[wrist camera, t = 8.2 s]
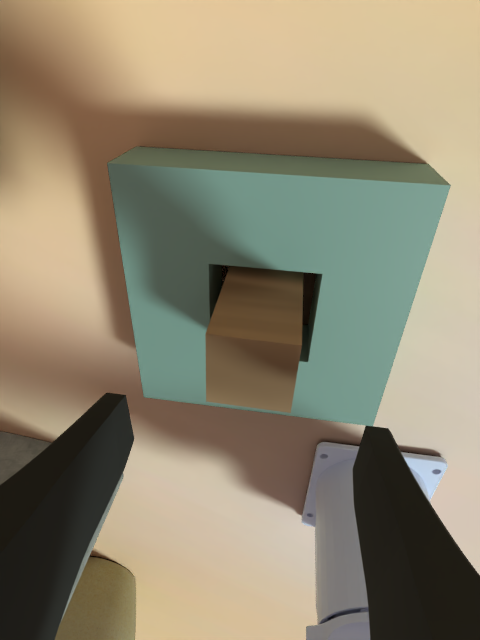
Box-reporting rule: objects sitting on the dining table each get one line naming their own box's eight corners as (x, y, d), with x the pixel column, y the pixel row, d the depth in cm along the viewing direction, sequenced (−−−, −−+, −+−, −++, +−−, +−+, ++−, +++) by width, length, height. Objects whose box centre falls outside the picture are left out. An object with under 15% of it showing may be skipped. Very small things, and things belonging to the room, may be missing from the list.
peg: (295, 310, 20) (290, 412, 15) (234, 304, 21) (206, 401, 15) (303, 254, 19) (301, 345, 13) (236, 247, 19) (205, 334, 13)
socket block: (365, 385, 22) (372, 426, 20) (160, 361, 24) (143, 397, 21) (428, 163, 16) (450, 185, 13) (136, 146, 17) (107, 163, 14)
